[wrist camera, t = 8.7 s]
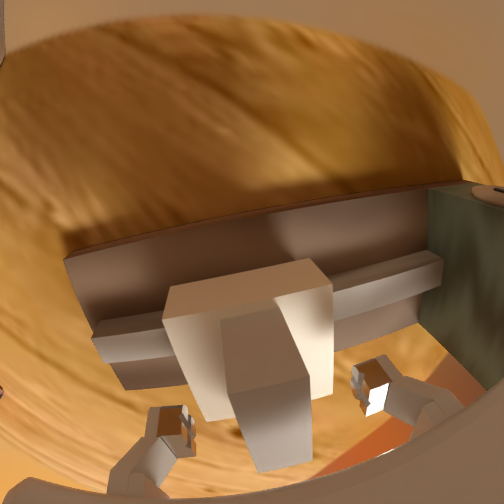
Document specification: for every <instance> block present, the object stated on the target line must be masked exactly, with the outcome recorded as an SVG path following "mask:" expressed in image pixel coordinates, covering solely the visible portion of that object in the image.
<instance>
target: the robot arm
mask: <svg viewBox="0 0 504 504" xmlns="http://www.w3.org/2000/svg"><path fill="white" fill-rule="evenodd" d="M4 56H5V35H4V0H0V65H1V63H2V61H3V59H4ZM351 373H352V374H353V377H352V378H351V389H352V392H353V395H354V397H355V399H358V400H360V407H361V409H362V411H363V413H364V414H365V416H368V415H371V414H374V413H376V412H379V411H381V410H383V411H385V412H387V413H389V414H390V415H392V416H394V417H396V418H398V419H400V420H402V421H403V422H405V423H407V424H409V425H411V426H413V427H414V429H413V431H412V433H411V435H410V438H409V440H410V441H408V442H406V443H404V444H402V445H401V446H398V447H396V448H394V449H392V450H390V451H387V452H385V453H383V454H381V455H378V456H376V457H374V458H371V459H369V460H366V461H364V462H361V463H359V464H356V465H354V466H351V467H349V468H345V469H343V470H340V471H337V472H334V473H331V474H327V475H325V476H321V477H318V478H314V479H311V480H307V481H303V482H299V483H295V484H291V485H287V486H283V487H278V488H273V489H268V490H263V491H257V492H251V493H244V494H236V495H228V496H218V497H205V498H181V499H170V497H169V496H168V495H167V494H166V493H165V492H163V491H162V490H161V489H160V488H159V487H160V485H161V484H162V482H163V481H164V479H165V478H166V476H167V475H168V473H169V472H170V470H171V469H172V467H173V465H174V464H175V462H176V461H177V458H185V457H195V456H196V443H195V441H194V440H193V439H194V438H195V436H196V428H195V423H194V420H193V418H192V416H190V415H188V409H187V407H186V406H185V405H176V406H162V407H150V409H149V411H148V417H147V423H146V430H145V437H141V438H140V439H139V440H138V442H137V443H136V444H135V445H134V446H133V447H132V448H131V449H130V450H129V451H128V452H127V453H126V454H125V455H124V457H123V458H122V459H121V460H120V461H119V462H118V463H117V464H116V465H115V466H114V467H113V468H112V469H111V470H110V475H109V481H108V487H107V493H106V494H103V493H97V492H91V491H85V490H80V489H75V488H71V487H66V486H62V485H58V484H54V483H50V482H47V481H43V480H40V479H37V478H33V477H28V478H26V479H24V480H23V481H21V482H20V483H18V484H17V485H16V486H15V487H13V488H12V489H11V490H10V491H9V492H8V493H7V495H6V496H5V498H4V500H3V503H2V504H504V378H503V379H501V380H500V381H499V382H498V383H497V384H495V385H494V386H493V387H492V388H490V389H489V390H488V391H487V392H485V393H484V394H483V395H482V396H480V397H479V398H477V399H476V400H475V401H473V402H472V403H471V404H469V405H468V406H466V407H465V408H464V407H463V406H462V404H461V403H460V402H459V401H458V400H457V398H456V397H455V396H454V395H453V394H452V392H451V391H450V390H447V389H444V388H441V387H438V386H435V385H432V384H429V383H426V382H423V381H420V380H417V379H414V378H411V377H408V376H405V377H403V376H402V374H401V373H400V372H399V371H398V369H397V368H396V367H395V366H394V364H393V363H392V362H391V361H390V360H389V358H388V357H387V356H386V355H381V356H379V357H376V358H374V359H370V360H368V361H365V362H362V363H360V364H357V365H354V366H353V367H352V371H351Z"/></svg>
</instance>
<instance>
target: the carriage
mask: <svg viewBox="0 0 504 504" xmlns="http://www.w3.org/2000/svg"><path fill="white" fill-rule="evenodd" d="M162 322H163V324H164V327H165V330H166V332H167V335H168V337H169V340H170V342H171V345H172V347H173V350H174V352H175V355H176V357H177V359H178V362H179V364H180V366H181V369H182V371H183V373H184V376H185V378H186V380H187V382H188V384H189V387H190V389H191V391H192V393H193V395H194V397H195V399H196V402H197V404H198V406H199V408H200V410H201V412H202V414H203V416H204V418H205V420H206V422H209V421H216V420H223V419H229V418H235V417H236V419H237V422H238V424H239V427H240V429H241V432H242V434H243V437H244V440H245V442H246V445H247V447H248V450H249V452H250V454H251V457H252V459H253V462H254V464H255V466H256V469H257V471H258V473H262V472H267V471H272V470H277V469H281V468H286V467H290V466H294V465H298V464H302V463H306V462H309V461H312V416H311V400H314V399H317V398H321V397H324V396H327V395H330V394H333V363H334V314H333V284H332V282H331V281H330V280H329V279H328V278H327V277H326V276H325V275H324V273H323V272H322V271H321V270H320V269H319V268H318V267H317V266H316V265H315V263H314V262H313V261H312V260H311V259H310V258H306V259H302V260H297V261H292V262H288V263H283V264H278V265H274V266H269V267H264V268H259V269H255V270H250V271H245V272H240V273H235V274H230V275H226V276H221V277H216V278H211V279H206V280H201V281H196V282H191V283H186V284H181V285H175V286H170V289H169V293H168V297H167V301H166V305H165V308H164V312H163V316H162Z"/></svg>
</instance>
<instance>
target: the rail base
mask: <svg viewBox="0 0 504 504" xmlns="http://www.w3.org/2000/svg"><path fill="white" fill-rule="evenodd" d="M306 258H310V259H311V260H312V261H313V262H314V263H315V265H316V266H317V267H318V268H319V269H320V270H321V271H322V272H323V273H324V275H325V276H326V277H327V278H328V279H329V280H330V281H331V282H332V284H333V314H334V352H337V351H340V350H343V349H346V348H350V347H353V346H356V345H359V344H362V343H365V342H368V341H370V340H373V339H376V338H379V337H382V336H384V335H387V334H390V333H392V332H395V331H398V330H400V329H403V328H405V327H408V326H410V325H413V324H415V323H419V324H420V325H421V326H422V327H423V328H425V329H426V330H427V331H428V332H429V333H430V334H431V335H432V336H433V337H434V338H435V339H436V340H437V341H438V342H439V343H440V344H441V345H442V346H443V347H444V348H445V349H446V350H447V351H448V352H449V353H450V354H452V356H453V357H455V358H456V359H457V361H458V362H459V363H460V364H462V365H463V367H464V368H465V369H466V370H467V371H468V372H469V373H470V374H471V375H472V376H473V377H474V378H475V379H476V380H477V381H478V382H479V383H480V384H481V385H482V386H483V388H484V389H485V390H486V391H488V390H489V389H490V388H492V387H493V386H494V385H495V384H497V383H498V382H499V381H500V380H501V379H503V378H504V187H501V186H492V185H483V184H479V183H475V182H471V181H466V180H457V181H448V182H438V183H430V184H421V185H413V186H405V187H397V188H390V189H382V190H375V191H368V192H361V193H355V194H348V195H341V196H335V197H329V198H323V199H316V200H310V201H304V202H299V203H293V204H287V205H282V206H276V207H270V208H265V209H260V210H254V211H249V212H244V213H239V214H234V215H229V216H224V217H219V218H214V219H209V220H204V221H199V222H195V223H190V224H185V225H181V226H176V227H172V228H167V229H163V230H158V231H154V232H150V233H145V234H141V235H137V236H133V237H128V238H124V239H120V240H116V241H112V242H108V243H104V244H100V245H96V246H92V247H88V248H85V249H81V250H77V251H73V252H72V253H70V254H69V255H68V256H67V257H66V258H64V259H63V261H64V264H65V267H66V270H67V273H68V275H69V278H70V280H71V283H72V286H73V288H74V290H75V293H76V295H77V298H78V300H79V302H80V305H81V307H82V309H83V312H84V314H85V316H86V318H87V320H88V322H89V325H90V327H91V329H92V331H93V335H92V337H91V339H92V341H93V343H94V345H95V347H96V349H97V351H98V353H99V355H100V356H101V358H102V360H103V362H104V363H110V365H111V367H112V369H113V370H114V372H115V374H116V375H117V377H118V379H119V381H120V382H121V384H122V385H123V387H124V389H125V390H139V389H150V388H161V387H170V386H178V385H186V384H188V382H187V380H186V378H185V376H184V373H183V371H182V369H181V366H180V364H179V362H178V359H177V357H176V355H175V352H174V350H173V347H172V345H171V342H170V340H169V337H168V335H167V332H166V330H165V327H164V324H163V322H162V316H163V312H164V308H165V305H166V301H167V297H168V293H169V289H170V286H175V285H181V284H186V283H191V282H196V281H201V280H206V279H211V278H216V277H221V276H226V275H230V274H235V273H240V272H245V271H250V270H255V269H259V268H264V267H269V266H274V265H278V264H283V263H288V262H292V261H297V260H302V259H306Z"/></svg>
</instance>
